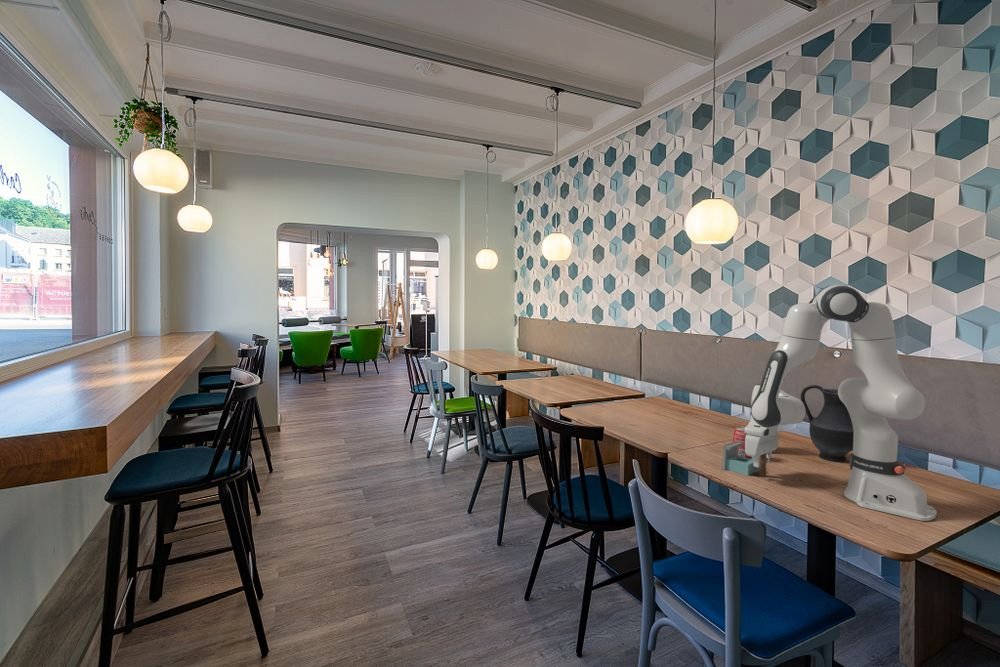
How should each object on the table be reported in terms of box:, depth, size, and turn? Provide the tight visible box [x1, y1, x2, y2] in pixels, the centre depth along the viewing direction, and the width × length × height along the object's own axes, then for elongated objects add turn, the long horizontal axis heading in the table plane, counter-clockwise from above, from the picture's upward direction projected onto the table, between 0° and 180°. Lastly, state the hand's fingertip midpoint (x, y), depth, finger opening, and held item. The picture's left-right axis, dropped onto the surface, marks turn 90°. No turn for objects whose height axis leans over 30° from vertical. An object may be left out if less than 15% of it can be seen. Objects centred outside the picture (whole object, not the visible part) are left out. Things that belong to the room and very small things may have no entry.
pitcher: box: [800, 384, 854, 463], centre depth 194 cm, size 17×21×30 cm
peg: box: [756, 453, 767, 478], centre depth 171 cm, size 3×3×10 cm
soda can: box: [732, 426, 752, 459], centre depth 192 cm, size 7×7×12 cm
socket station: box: [721, 441, 758, 476], centre depth 177 cm, size 9×10×9 cm
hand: (761, 464), depth 171 cm, fingers open, 7 cm apart
